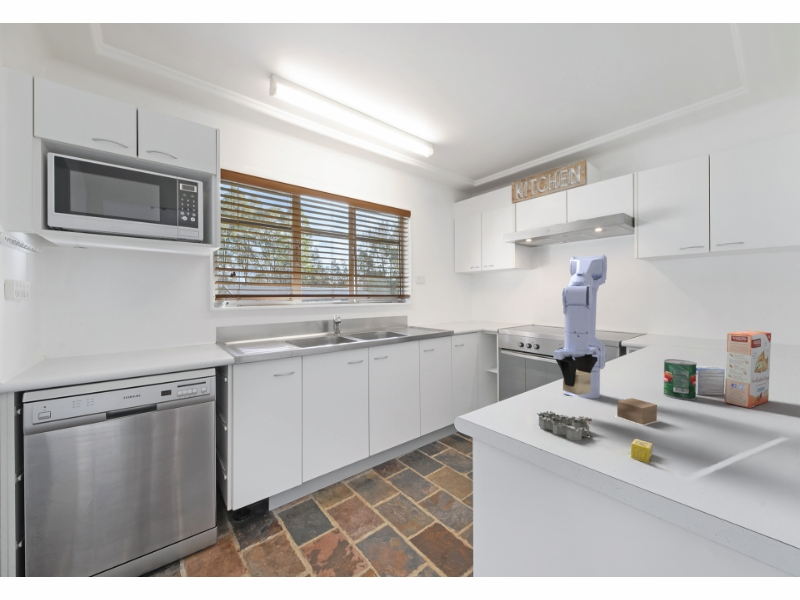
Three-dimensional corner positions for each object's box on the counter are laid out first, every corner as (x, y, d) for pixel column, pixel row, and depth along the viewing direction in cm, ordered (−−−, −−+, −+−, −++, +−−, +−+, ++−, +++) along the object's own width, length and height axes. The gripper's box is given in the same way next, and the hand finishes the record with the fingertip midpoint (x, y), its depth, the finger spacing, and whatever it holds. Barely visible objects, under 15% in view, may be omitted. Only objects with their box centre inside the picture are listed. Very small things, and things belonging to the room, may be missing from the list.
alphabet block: (652, 458, 67) (652, 442, 67) (649, 463, 65) (649, 448, 65) (634, 452, 70) (634, 438, 70) (630, 458, 67) (630, 443, 67)
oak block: (562, 390, 89) (563, 371, 89) (574, 388, 91) (575, 369, 91) (578, 395, 85) (578, 375, 85) (590, 392, 87) (590, 373, 87)
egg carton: (594, 436, 78) (594, 419, 78) (574, 444, 74) (574, 425, 74) (553, 421, 87) (553, 405, 87) (533, 426, 83) (533, 410, 83)
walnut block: (617, 416, 88) (617, 401, 88) (631, 412, 90) (631, 397, 90) (642, 424, 82) (642, 408, 82) (656, 420, 85) (656, 404, 85)
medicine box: (713, 392, 112) (713, 365, 112) (724, 396, 107) (725, 368, 107) (687, 391, 112) (687, 365, 112) (697, 395, 108) (698, 368, 108)
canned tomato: (657, 392, 112) (658, 358, 111) (684, 393, 110) (685, 359, 110) (673, 399, 104) (674, 363, 103) (702, 400, 103) (703, 364, 102)
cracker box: (751, 409, 95) (753, 334, 94) (723, 403, 100) (724, 332, 100) (771, 402, 101) (772, 331, 101) (743, 396, 107) (744, 329, 106)
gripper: (570, 335, 81) (570, 392, 82) (610, 332, 87) (609, 384, 88) (546, 332, 88) (546, 384, 88) (584, 329, 94) (584, 378, 94)
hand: (576, 384), depth 88 cm, fingers closed on oak block, 4 cm apart
